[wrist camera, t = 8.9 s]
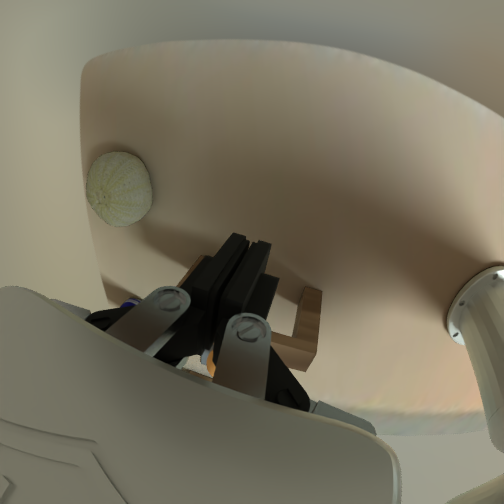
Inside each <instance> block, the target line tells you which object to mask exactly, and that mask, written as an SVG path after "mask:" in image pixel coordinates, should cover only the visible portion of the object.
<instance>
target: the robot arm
mask: <svg viewBox="0 0 504 504" xmlns="http://www.w3.org/2000/svg"><path fill="white" fill-rule="evenodd" d="M249 244H250V241H248V240H246V236H244V235H240V234H237V233H232V235H231V236H230V237H229V238H228V240H227V241H226V242H225V243H224V245H223V246H222V247H221V249H220V250H219V251H218V252H217V254H216V255H215V256H214V257H210V256H205V257H204V258H203V259H202V260H201V261H200V263H199V264H198V265H197V266H196V268H195V269H194V270H193V271H192V272H191V274H190V275H189V276H188V277H187V278H186V280H185V281H184V282H183V283H182V285H181V286H180V287H179V288H178V287H174V286H164V287H160V288H158V289H156V290H154V291H153V292H152V293H151V294H149V295H148V296H147V297H146V298H144V299H143V300H142V301H141V302H140V303H138V304H137V305H132V306H126V307H120V308H114V309H108V310H103V311H97V312H94V313H92V314H91V312H90V310H87V309H84V308H80V307H77V306H74V305H71V304H68V303H65V302H62V301H59V300H56V299H49V298H47V297H46V296H44V295H41V294H39V293H37V292H35V291H33V290H29V289H27V288H23V287H18V286H5V287H2V288H0V504H401V496H402V481H401V469H400V463H399V460H398V457H397V455H396V453H395V452H394V451H393V449H392V448H391V447H390V446H389V445H388V444H387V443H385V442H384V441H382V440H381V439H379V438H378V437H376V431H375V428H374V427H373V425H372V424H371V423H370V422H368V421H366V420H364V419H362V418H359V417H357V416H354V415H352V414H350V413H347V412H345V411H342V410H340V409H338V408H335V407H333V406H331V405H329V404H326V403H324V402H322V401H320V400H319V401H318V402H315V401H313V400H311V399H309V396H308V395H307V393H306V391H305V390H304V389H303V387H302V386H301V385H300V383H299V382H298V381H297V380H296V378H295V377H294V376H293V374H292V373H291V372H290V370H289V369H288V368H287V366H286V365H285V364H284V362H283V361H282V360H281V358H280V357H279V355H278V354H277V353H276V351H275V350H274V349H273V347H272V346H271V345H270V344H271V334H272V333H271V327H270V325H269V323H268V322H267V321H266V319H267V316H268V313H269V310H270V307H271V304H272V301H273V298H274V295H275V291H276V288H277V285H278V282H279V278H277V277H274V276H270V275H267V274H264V272H265V268H266V265H267V261H268V257H269V253H270V249H271V244H270V243H267V242H264V241H260V240H259V241H258V242H257V243H255V242H253V243H252V244H251V246H250V248H249ZM248 249H249V250H248ZM447 328H448V332H449V334H450V337H451V338H452V339H453V340H454V341H455V342H456V343H458V344H461V345H465V346H466V348H467V351H468V354H469V357H470V360H471V363H472V366H473V369H474V373H475V376H476V379H477V383H478V387H479V390H480V394H481V398H482V402H483V406H484V411H485V416H486V420H487V425H488V430H489V435H490V439H491V441H492V443H493V445H494V446H495V447H496V448H497V449H498V450H499V451H501V452H503V453H504V266H495V267H492V268H488V269H486V270H484V271H482V272H480V273H479V274H478V275H476V276H475V277H473V278H472V279H471V280H470V281H469V282H468V283H467V284H466V285H465V286H464V287H463V288H462V289H461V290H460V292H459V293H458V295H457V296H456V297H455V299H454V301H453V303H452V305H451V307H450V309H449V312H448V316H447ZM213 343H214V347H213V358H212V361H213V363H214V365H215V367H216V368H215V372H214V376H213V379H212V382H210V381H207V380H204V379H202V378H199V377H197V376H194V375H192V374H190V373H187V372H185V371H182V370H181V369H182V367H183V366H184V365H185V364H186V362H187V361H188V358H189V356H193V355H196V354H197V355H200V356H202V355H203V353H204V351H205V349H206V350H208V351H209V350H210V349H211V347H212V345H213ZM446 504H504V474H502V475H500V476H498V477H496V478H494V479H492V480H490V481H488V482H486V483H484V484H482V485H480V486H478V487H476V488H473V489H472V490H470V491H467V492H465V493H463V494H460V495H458V496H457V497H455V498H453V499H451V500H450V501H449V502H447V503H446Z"/></svg>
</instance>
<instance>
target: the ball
mask: <svg viewBox="0 0 504 504" xmlns="http://www.w3.org/2000/svg"><path fill="white" fill-rule="evenodd" d="M212 358H213V350H212V351H211V352H210V353H209V355H208V357H207V369H208V371H209V373H210V375H211V376H212V377H213V376H214V372H215V368H216V367H215V365H214V363H213V361H212Z"/></svg>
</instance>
